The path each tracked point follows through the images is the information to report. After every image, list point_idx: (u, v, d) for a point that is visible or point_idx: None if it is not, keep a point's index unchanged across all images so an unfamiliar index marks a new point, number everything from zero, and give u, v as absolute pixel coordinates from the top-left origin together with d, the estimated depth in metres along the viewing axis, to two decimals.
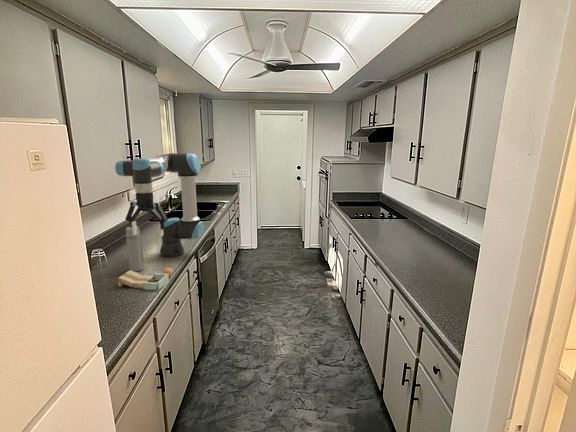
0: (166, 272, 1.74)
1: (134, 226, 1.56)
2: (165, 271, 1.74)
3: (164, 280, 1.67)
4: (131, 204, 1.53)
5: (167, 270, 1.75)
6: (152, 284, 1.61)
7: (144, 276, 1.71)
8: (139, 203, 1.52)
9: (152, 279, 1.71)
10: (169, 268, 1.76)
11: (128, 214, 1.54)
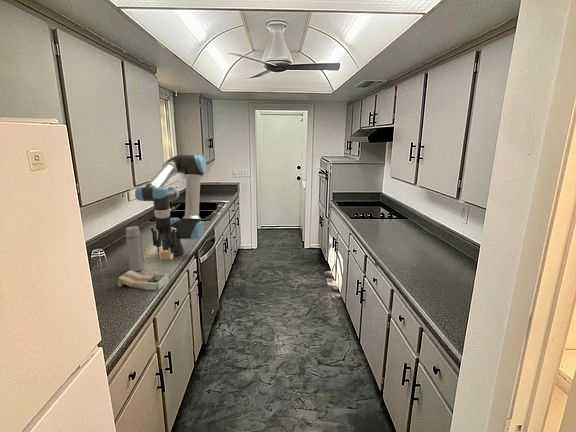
0: (165, 254, 1.72)
1: (161, 251, 1.74)
2: (164, 253, 1.72)
3: (164, 280, 1.67)
4: (152, 230, 1.70)
5: (166, 252, 1.72)
6: (152, 284, 1.61)
7: (144, 276, 1.71)
8: (158, 226, 1.70)
9: (152, 279, 1.71)
10: None
11: (153, 240, 1.72)
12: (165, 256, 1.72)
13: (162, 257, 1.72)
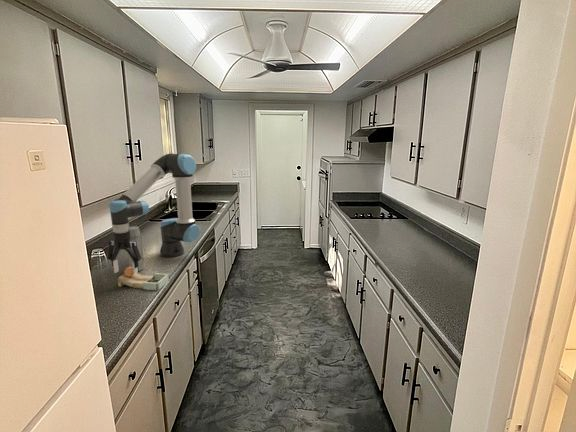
0: (129, 273, 1.65)
1: (115, 264, 1.67)
2: (129, 271, 1.65)
3: (164, 280, 1.67)
4: (109, 244, 1.64)
5: (132, 272, 1.66)
6: (152, 284, 1.61)
7: (144, 276, 1.71)
8: (116, 241, 1.63)
9: (152, 279, 1.71)
10: None
11: (109, 253, 1.65)
12: (128, 274, 1.65)
13: (125, 272, 1.65)
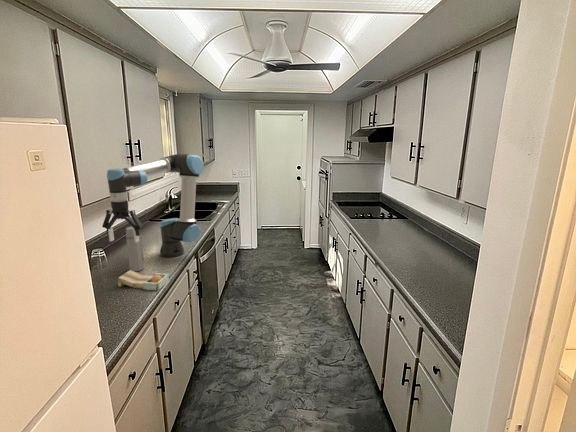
0: (156, 281, 1.65)
1: (111, 233, 1.64)
2: (156, 279, 1.65)
3: (164, 280, 1.67)
4: (107, 212, 1.61)
5: (159, 280, 1.66)
6: (152, 284, 1.61)
7: (144, 276, 1.71)
8: (115, 211, 1.60)
9: None
10: (161, 278, 1.67)
11: (105, 221, 1.62)
12: (155, 282, 1.65)
13: (152, 281, 1.65)
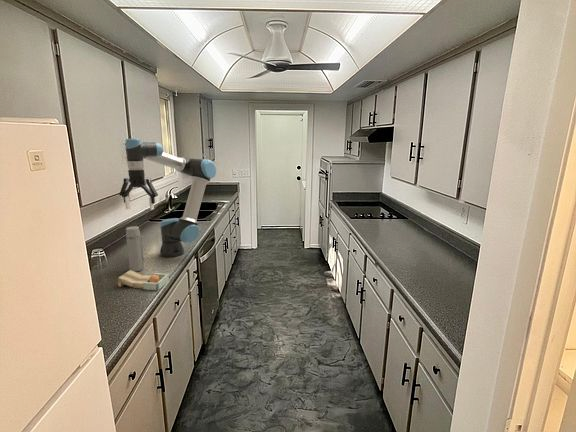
0: (153, 280, 1.65)
1: (127, 201, 1.72)
2: (152, 278, 1.65)
3: (164, 280, 1.67)
4: (124, 180, 1.69)
5: (154, 278, 1.66)
6: (152, 284, 1.61)
7: (144, 276, 1.71)
8: (132, 179, 1.68)
9: None
10: (157, 276, 1.67)
11: (122, 190, 1.70)
12: (153, 282, 1.65)
13: None
